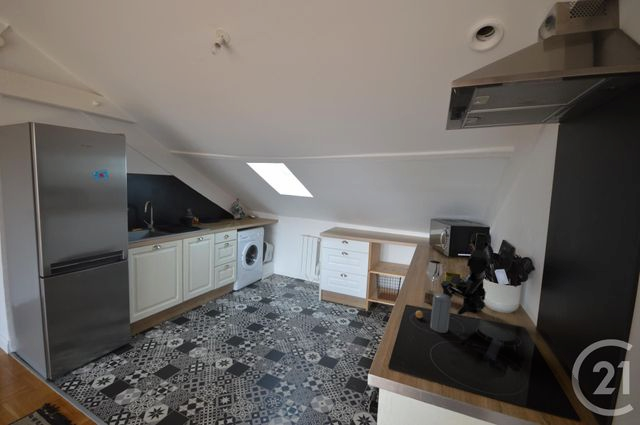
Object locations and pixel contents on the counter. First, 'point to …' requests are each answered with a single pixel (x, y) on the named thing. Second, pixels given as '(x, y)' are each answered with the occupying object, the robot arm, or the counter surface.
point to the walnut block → (429, 296)
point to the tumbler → (440, 312)
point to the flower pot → (449, 276)
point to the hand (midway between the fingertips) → (449, 309)
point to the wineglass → (434, 271)
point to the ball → (419, 314)
